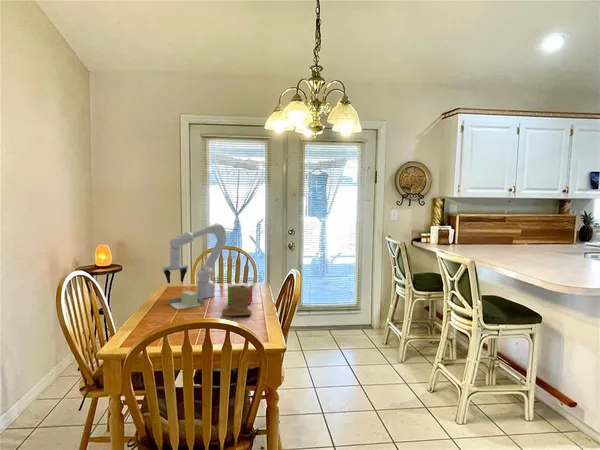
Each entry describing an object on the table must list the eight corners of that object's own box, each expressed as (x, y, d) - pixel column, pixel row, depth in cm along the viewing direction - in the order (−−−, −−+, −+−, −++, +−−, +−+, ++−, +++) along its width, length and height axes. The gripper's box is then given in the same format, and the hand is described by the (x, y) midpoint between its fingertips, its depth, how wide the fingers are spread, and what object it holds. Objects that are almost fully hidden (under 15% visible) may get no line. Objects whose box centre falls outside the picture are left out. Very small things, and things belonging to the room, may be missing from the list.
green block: (197, 304, 211) (197, 293, 210) (190, 306, 207) (190, 295, 207) (188, 301, 217) (188, 290, 216) (181, 302, 213) (181, 291, 213)
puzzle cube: (252, 302, 219) (252, 285, 219) (242, 307, 210) (243, 289, 209) (237, 300, 224) (237, 283, 223) (227, 304, 214) (227, 286, 214)
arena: (194, 299, 221) (194, 294, 221) (203, 305, 212) (203, 299, 212) (168, 304, 212) (168, 298, 212) (176, 309, 203) (176, 304, 203)
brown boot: (250, 310, 205) (251, 282, 204) (252, 317, 193) (253, 288, 192) (221, 311, 202) (221, 283, 201) (221, 318, 190) (221, 288, 189)
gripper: (184, 256, 229) (184, 279, 230) (160, 258, 220) (160, 282, 221) (189, 258, 224) (189, 281, 225) (164, 260, 215) (164, 284, 216)
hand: (175, 282), depth 223 cm, fingers open, 7 cm apart
